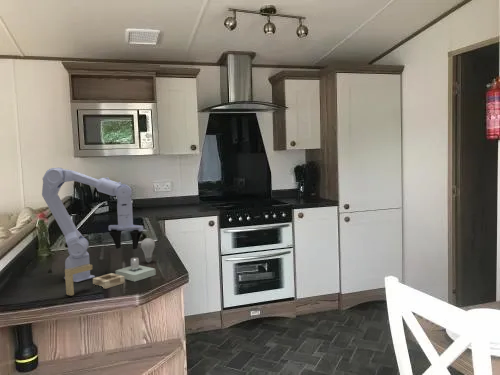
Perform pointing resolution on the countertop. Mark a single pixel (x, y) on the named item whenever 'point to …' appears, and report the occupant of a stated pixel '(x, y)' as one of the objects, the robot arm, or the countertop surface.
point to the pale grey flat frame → (136, 273)
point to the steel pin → (134, 264)
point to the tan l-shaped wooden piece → (69, 276)
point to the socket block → (109, 280)
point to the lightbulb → (148, 248)
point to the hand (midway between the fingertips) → (126, 248)
